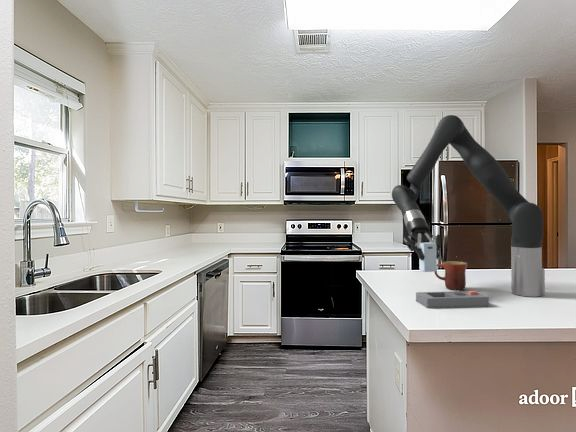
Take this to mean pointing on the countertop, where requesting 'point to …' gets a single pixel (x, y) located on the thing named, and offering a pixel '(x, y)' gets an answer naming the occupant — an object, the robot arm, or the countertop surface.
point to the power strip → (452, 299)
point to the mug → (454, 275)
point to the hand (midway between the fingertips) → (430, 258)
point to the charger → (428, 257)
